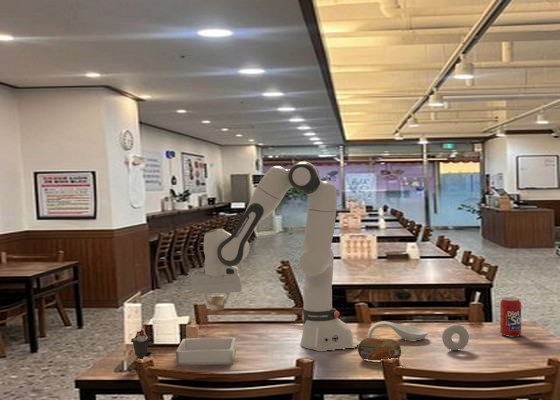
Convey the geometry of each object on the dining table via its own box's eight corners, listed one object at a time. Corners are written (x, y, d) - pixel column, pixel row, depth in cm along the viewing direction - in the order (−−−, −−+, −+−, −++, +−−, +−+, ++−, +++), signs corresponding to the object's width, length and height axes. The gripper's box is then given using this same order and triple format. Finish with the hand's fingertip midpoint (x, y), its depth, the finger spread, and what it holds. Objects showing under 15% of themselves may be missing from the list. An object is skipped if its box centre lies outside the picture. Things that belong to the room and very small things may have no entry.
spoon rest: (424, 335, 235) (424, 318, 234) (430, 344, 223) (430, 325, 223) (366, 336, 236) (366, 318, 235) (369, 344, 224) (369, 326, 224)
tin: (357, 361, 204) (357, 337, 204) (360, 358, 207) (359, 335, 207) (400, 365, 199) (400, 341, 198) (402, 362, 201) (401, 338, 201)
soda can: (503, 331, 237) (503, 295, 236) (523, 334, 232) (523, 297, 231) (498, 336, 230) (497, 299, 230) (518, 339, 226) (518, 301, 225)
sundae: (146, 371, 198) (145, 328, 198) (128, 370, 200) (127, 327, 199) (154, 364, 205) (153, 323, 204) (137, 364, 206) (135, 322, 205)
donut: (466, 348, 215) (466, 322, 215) (470, 351, 212) (470, 324, 211) (440, 350, 214) (440, 323, 214) (444, 352, 211) (443, 326, 210)
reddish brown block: (199, 341, 233) (199, 324, 232) (198, 344, 228) (197, 327, 227) (187, 341, 233) (187, 324, 232) (185, 345, 228) (185, 327, 227)
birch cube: (224, 307, 232) (223, 294, 232) (223, 310, 227) (222, 297, 227) (212, 307, 232) (211, 295, 232) (210, 310, 227) (210, 298, 227)
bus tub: (235, 350, 219) (235, 337, 219) (232, 364, 203) (232, 350, 203) (183, 351, 219) (183, 338, 219) (176, 365, 203) (175, 351, 203)
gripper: (188, 271, 226) (190, 306, 226) (240, 269, 226) (242, 304, 226) (191, 269, 232) (192, 303, 233) (241, 267, 232) (243, 301, 233)
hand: (217, 303), depth 230 cm, fingers closed on birch cube, 5 cm apart
